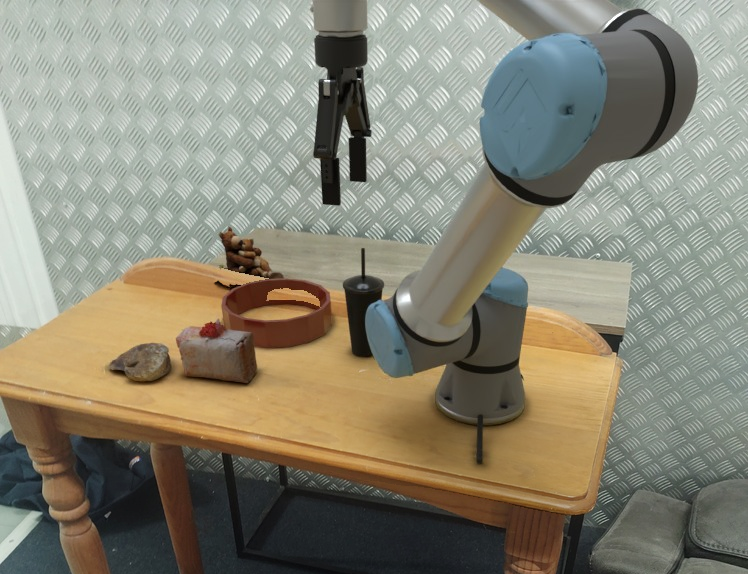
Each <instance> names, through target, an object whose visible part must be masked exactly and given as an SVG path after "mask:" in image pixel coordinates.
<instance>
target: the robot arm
mask: <svg viewBox="0 0 748 574" xmlns="http://www.w3.org/2000/svg"><path fill="white" fill-rule="evenodd" d="M476 1H477V2H479V3H480V4H481V5H482V6H483V7H485V8H486V9H487V10H489V11H490V12H491V13H492V14H494V15H495V16H497V17H498V18H499V19H500V20H502V21H503V22H504V23H505V24H506V25H508V26H509V27H510V28H512V29H513V30H515V32H517V33H518V34H519V35H521V36H522V37H523V38H524V39H526V40H527V41H525V42H523V43H520V44H519V45H517V46H516V47H514V48H512V49H511V50H510V51H509V52H507V54H505V55H504V57H503V58H502V59H500V62H498V63H497V65H496V66H495V68H494V69H493V71H492V73H491V75H490V77H489V79H488V81H487V83H486V86H485V89H484V91H483V95H482V99H481V104H480V107H481V108H482V109H483V110H484V114H483V116H480V117H479V133H480V141H481V145H482V146H481V147H482V148H481V150H482V157H483V160H484V163H483V165H482V167H481V168H480V170H479V172H478V174H477V175H476V176H475V178H474V180H473V182H472V184H471V185H470V187H469V188H468V190H467V191H466V193H465V195H464V197H463V198H462V200H461V202H460V204H459V205H458V207H457V209H456V210H455V212H454V214H453V215H452V217H451V219H450V220H449V222H448V223H447V226H446V227H445V229H444V230H443V232H442V233H441V235H440V237H439V239H438V241H436V244H435V245H434V247H433V249H432V250H431V252H430V254H429V256H428V257H427V258H426V260H425V262H424V264H423V266H422V267H421V269H418V270H415V271H413V272H411V273H409V274H407V275H406V276H405V277H404V278H403V279H402V280H401V281H400V283H399V284H398V286H397V288H396V290H395V291H394V293H393V295H392V296H391V297H389V298H387V299H382V300H378V301H377V302H375V303H372V304H371V305H370V306H369V307H368V309H367V312H366V316H365V327H366V333H367V339H368V342H369V346H370V349H371V351H372V354H373V355H372V357H373V358H374V360H375V362H376V363H377V366H378V367H379V368H380V369H381V371H382V372H383V373H384V374H386V375H387V376H388V377H390V378H393V379H400V378H406V377H413V376H414V375H415V374H419V373H422V372H425V371H429V370H431V369H435V368H439V367H441V366H445V368H444V369H443V372H442V374H441V375H440V379H439V382H438V384H437V386H436V390H435V405H436V407H437V409H438V410H439V412H441V413H442V414H443V415H445V416H446V417H448V418H450V419H452V420H454V421H457V422H459V423H463V424H466V425H467V424H468V425H472V426H473V425H474V426H476V427H477V428H476V463H477V464H478V465H481V464H483V461H484V459H483V457H484V455H483V452H484V451H483V449H484V447H483V444H484V443H483V442H484V441H483V439H484V436H483V435H484V426H494V425H495V426H496V425H501V424H504V423H508V422H511V421H513V420H515V419H517V418H518V417H519V416H520V415H521V414H522V413H523V411H524V410H525V409H524V408H525V402H526V392H525V386H524V382H525V379H524V376H523V374H522V373H521V368H520V357H521V351H522V344H523V339H524V338H523V337H524V331H525V325H526V318H527V317H526V316H527V310H528V307H529V302H528V297H529V296H528V295H529V284H528V282H527V280H526V278H525V277H524V276H523V275H521V274H519V273H518V272H516V271H515V270H512V269H509V268H507V267H504V265H506V262H507V261H508V260H509V258H510V257H511V256H512V255H513V253H514V252H515V251H516V250H517V248H518V247H519V246H520V244H521V243H522V242H523V240H524V239H525V237H527V235H528V234H529V232H531V230H532V228H534V226H535V225H536V223H537V222H538V220H539V219H540V218H541V217H542V216H543V214H544V213H545V212H546V210H547V209H551V208H552V209H553V208H559V207H561V206H563V205H566V204H567V203H568V202H569V201H571V200H572V199H573V198H574V196H575V195H576V194H577V192H578V191H579V190H580V189H581V188H582V187H583V186H584V184H585V183H586V182H587V180H588V179H589V178H590V177H591V176H592V174H593V173H594V172H595V171H596V170H597V169H598V168H599V167H601V166H603V165H606V164H611V163H616V162H622V161H625V160H633V159H636V158H640V157H645V156H648V155H649V154H652V153H654V152H656V151H658V150H659V149H660V148H662V147H664V145H666V144H667V143H669V142H670V141H671V140H672V139H673V138H674V137H675V136H676V135H677V134H678V133H679V131H680V130H681V129H682V127H683V126H684V125H685V123H686V121H687V119H688V118H689V116H690V114H691V112H692V110H693V108H694V104H695V102H696V98H697V93H698V88H699V72H698V65H697V61H696V58H695V54H694V52H693V50H692V48H691V46H690V44H689V43H688V42H687V41H686V39H685V38H684V37H683V36H682V35H681V34H680V33H679V32H678V31H676V30H675V29H674V28H673V27H671V26H669V24H666V23H665V22H664V21H663V20H661V19H659V18H658V17H656V16H655V15H653V14H652V13H650V12H649V11H647V10H645V9H643V8H641V7H630V8H628V9H622V8H621V7H619V6H618V5H616V4H615V3H613V2H612V1H610V0H476ZM309 11H310V12H311V13H313V17H312V18H313V30H315V31H316V32H318V34H316V35H315V37H314V38H313V43H314V45H313V46H314V61H315V65H316V66H317V67H320V68H324V69H326V71H327V73H326V78H319V79H318V83H317V84H318V98H317V99H318V101H317V112H316V122H315V133H314V144H313V152H312V156H313V159H319V163H320V165H319V166H320V183H321V203H322V205H326V206H337V207H340V206H342V205H341V204H342V199H341V197H342V196H341V170H340V167H341V166H340V157H337V156H338V150H339V146H340V145H339V144H340V139H341V134H342V129H343V122H344V117H345V120H346V124H347V127H348V130H349V133H350V136H351V137H348V161H349V162H348V163H349V164H348V165H349V167H348V168H349V182H356V183H366V182H367V181H368V180H367V176H368V173H367V138H372V131H373V130H372V129H371V120H370V114H369V107H368V99H367V95H366V87H365V75H364V72H365V71H364V67H365V66H367V64H368V61H369V60H368V55H369V54H368V37H367V35H366V34H364V32H365V31H366V30H367V29H368V26H369V25H368V24H369V23H368V0H312V3H311V4H310V5H309Z"/></svg>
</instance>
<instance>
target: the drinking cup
mask: <svg viewBox="0 0 748 574" xmlns="http://www.w3.org/2000/svg"><path fill="white" fill-rule="evenodd" d="M360 261H361V262H360V265H361V266H360V267H361V272H360V273H361V274H357V275H354V276H352V277H348V278H347V279H345V280H344V281H342V289H343V290H344V297H345V305H346V313H347V321H348V322H347V323H348V331H349V340H350V346H351V353H352V354H353V355H354V356H356V357H359V358H368V357H373V354H372V351H371V349H370V346H369V342H368V339H367V333H366V327H365V316H366V312H367V309H368V307H369V306H370V305H371V304H372V303H375V302H377V301H378V300H383V299H382V298H383V289H384V288H385V282H384V280H383V279H381V278H379V277H376V276H374V275H370V274H366V248H365V247H361V248H360Z"/></svg>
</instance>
